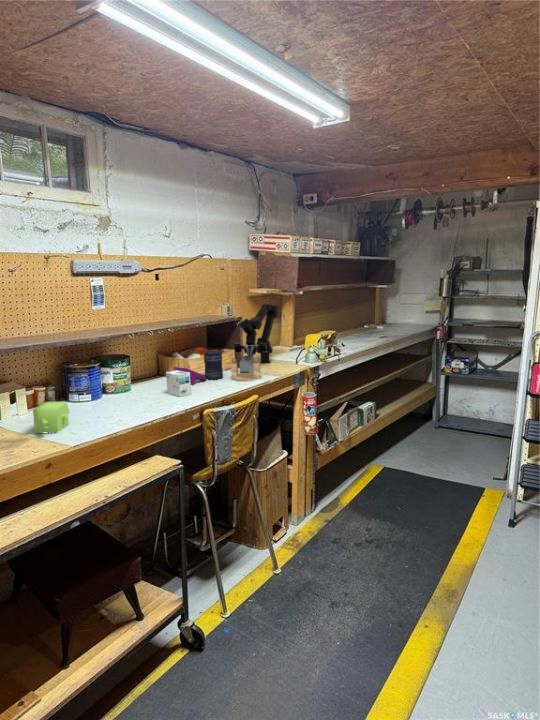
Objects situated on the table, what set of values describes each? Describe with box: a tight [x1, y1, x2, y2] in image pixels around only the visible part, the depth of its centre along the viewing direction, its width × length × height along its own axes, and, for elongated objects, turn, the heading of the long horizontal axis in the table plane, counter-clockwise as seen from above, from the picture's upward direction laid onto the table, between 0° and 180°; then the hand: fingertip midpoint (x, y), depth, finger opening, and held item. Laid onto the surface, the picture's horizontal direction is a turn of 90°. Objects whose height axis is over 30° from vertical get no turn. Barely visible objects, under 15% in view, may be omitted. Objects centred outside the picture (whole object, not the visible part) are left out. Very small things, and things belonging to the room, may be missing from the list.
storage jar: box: [203, 349, 224, 381], centre depth 254 cm, size 10×10×15 cm
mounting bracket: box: [172, 366, 207, 386], centre depth 245 cm, size 9×8×18 cm
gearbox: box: [32, 401, 70, 434], centre depth 174 cm, size 18×10×10 cm, turn 2°
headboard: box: [230, 357, 261, 382], centre depth 248 cm, size 6×15×12 cm, turn 86°
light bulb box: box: [165, 370, 192, 398], centre depth 222 cm, size 11×7×11 cm, turn 47°
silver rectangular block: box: [239, 355, 255, 373], centre depth 258 cm, size 20×5×10 cm, turn 175°
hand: (249, 359), depth 270 cm, fingers closed
